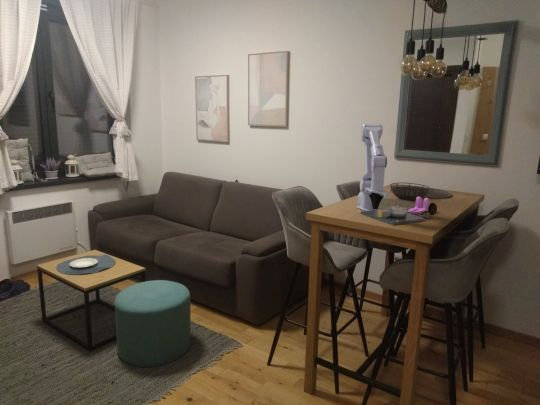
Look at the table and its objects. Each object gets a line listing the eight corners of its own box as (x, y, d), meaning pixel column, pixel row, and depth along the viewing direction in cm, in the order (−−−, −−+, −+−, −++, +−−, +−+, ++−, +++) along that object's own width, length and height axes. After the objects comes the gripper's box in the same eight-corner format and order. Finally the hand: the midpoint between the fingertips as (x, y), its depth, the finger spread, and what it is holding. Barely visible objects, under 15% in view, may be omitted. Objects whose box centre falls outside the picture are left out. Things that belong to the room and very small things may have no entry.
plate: (360, 213, 203) (360, 211, 203) (391, 210, 212) (391, 207, 211) (392, 225, 183) (393, 222, 183) (425, 220, 192) (425, 218, 192)
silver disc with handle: (396, 212, 202) (397, 204, 201) (410, 216, 194) (411, 208, 193) (373, 214, 195) (373, 207, 194) (386, 219, 188) (386, 211, 187)
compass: (415, 216, 202) (416, 201, 200) (429, 215, 203) (431, 201, 202) (424, 220, 194) (425, 205, 192) (439, 219, 196) (440, 204, 194)
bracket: (418, 208, 217) (419, 196, 216) (428, 210, 213) (429, 197, 212) (406, 212, 208) (407, 199, 207) (416, 214, 204) (418, 201, 203)
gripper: (360, 179, 199) (359, 206, 202) (381, 184, 186) (379, 213, 189) (372, 178, 202) (370, 205, 205) (393, 183, 190) (390, 211, 192)
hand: (375, 209), depth 197 cm, fingers closed
